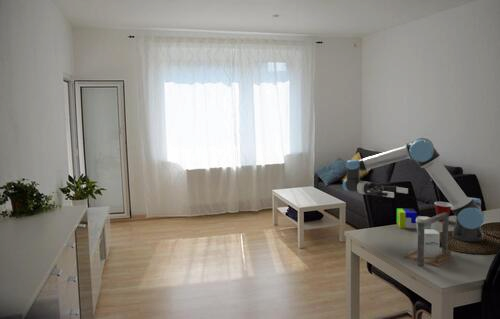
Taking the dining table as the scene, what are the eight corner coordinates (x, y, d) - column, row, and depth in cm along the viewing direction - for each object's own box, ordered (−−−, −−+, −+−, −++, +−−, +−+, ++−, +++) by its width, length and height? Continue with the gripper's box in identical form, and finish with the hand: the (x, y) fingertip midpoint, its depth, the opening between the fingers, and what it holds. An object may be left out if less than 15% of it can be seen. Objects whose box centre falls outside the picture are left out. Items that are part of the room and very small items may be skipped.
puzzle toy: (416, 228, 226) (417, 212, 225) (399, 227, 228) (399, 212, 227) (412, 223, 236) (413, 208, 235) (396, 223, 238) (396, 208, 237)
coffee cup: (416, 234, 214) (416, 215, 213) (432, 236, 210) (432, 216, 209) (414, 239, 207) (414, 219, 205) (431, 241, 203) (431, 220, 201)
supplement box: (423, 258, 178) (424, 233, 177) (419, 252, 186) (419, 228, 184) (439, 258, 177) (440, 233, 176) (434, 252, 185) (435, 228, 183)
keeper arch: (399, 259, 180) (400, 218, 178) (426, 246, 196) (427, 208, 193) (432, 269, 167) (432, 225, 165) (458, 255, 183) (459, 214, 180)
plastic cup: (451, 224, 230) (452, 206, 229) (432, 222, 236) (433, 204, 235) (452, 219, 240) (453, 202, 238) (434, 218, 245) (434, 200, 244)
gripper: (379, 190, 220) (413, 195, 203) (353, 198, 205) (387, 204, 188) (379, 178, 219) (413, 182, 202) (353, 184, 204) (387, 190, 187)
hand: (400, 193), depth 195 cm, fingers open, 13 cm apart
